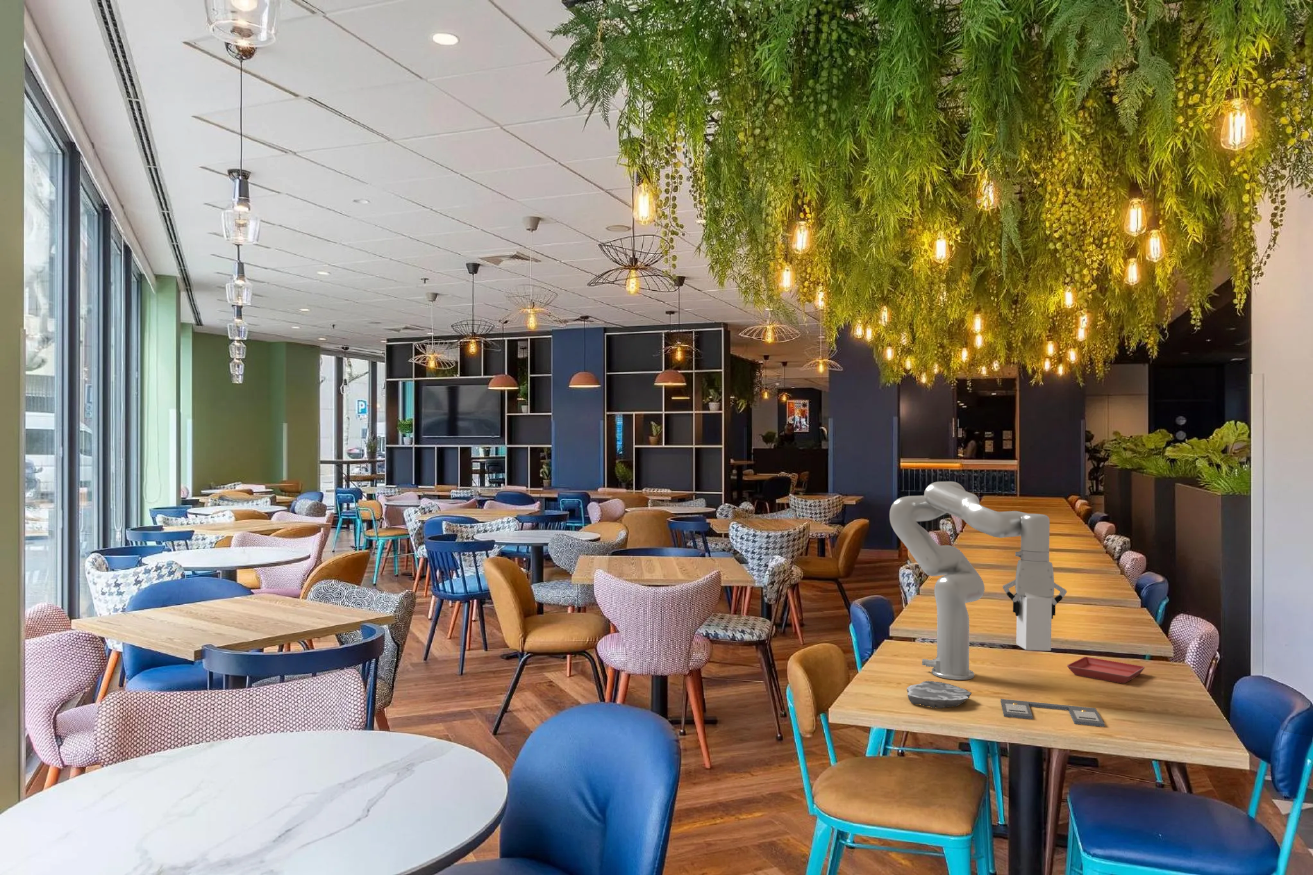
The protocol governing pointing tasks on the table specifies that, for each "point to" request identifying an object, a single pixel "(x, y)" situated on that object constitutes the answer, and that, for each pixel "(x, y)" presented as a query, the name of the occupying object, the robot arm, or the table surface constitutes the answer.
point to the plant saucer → (1105, 669)
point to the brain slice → (937, 694)
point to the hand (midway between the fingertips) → (1033, 616)
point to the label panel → (1077, 713)
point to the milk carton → (1034, 622)
